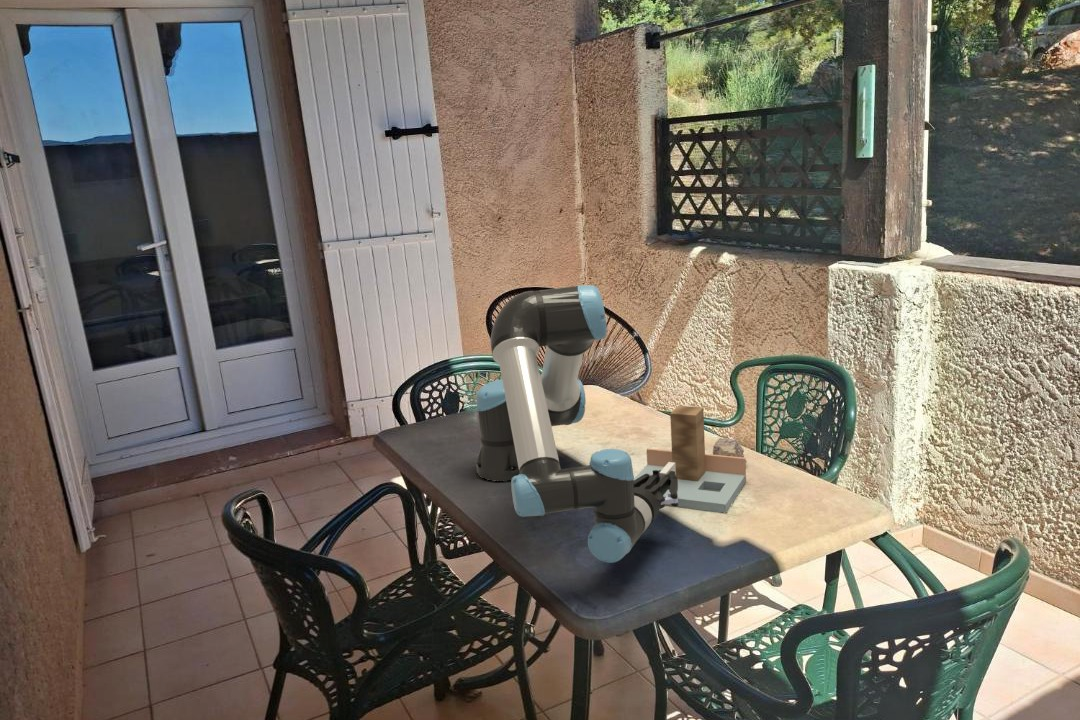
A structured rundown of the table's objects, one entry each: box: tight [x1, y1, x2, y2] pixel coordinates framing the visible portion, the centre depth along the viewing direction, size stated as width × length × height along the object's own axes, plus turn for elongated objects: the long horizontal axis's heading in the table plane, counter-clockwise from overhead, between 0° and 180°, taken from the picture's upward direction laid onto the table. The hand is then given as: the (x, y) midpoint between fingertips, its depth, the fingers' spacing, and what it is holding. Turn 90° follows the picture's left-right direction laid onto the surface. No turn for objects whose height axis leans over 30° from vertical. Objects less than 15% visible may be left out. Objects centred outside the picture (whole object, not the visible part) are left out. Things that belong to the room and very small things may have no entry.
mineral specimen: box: [712, 437, 748, 463], centre depth 200 cm, size 13×7×6 cm, turn 7°
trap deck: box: [634, 447, 747, 514], centre depth 188 cm, size 24×18×6 cm
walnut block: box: [669, 405, 706, 481], centre depth 190 cm, size 6×6×16 cm
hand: (672, 468), depth 179 cm, fingers closed
